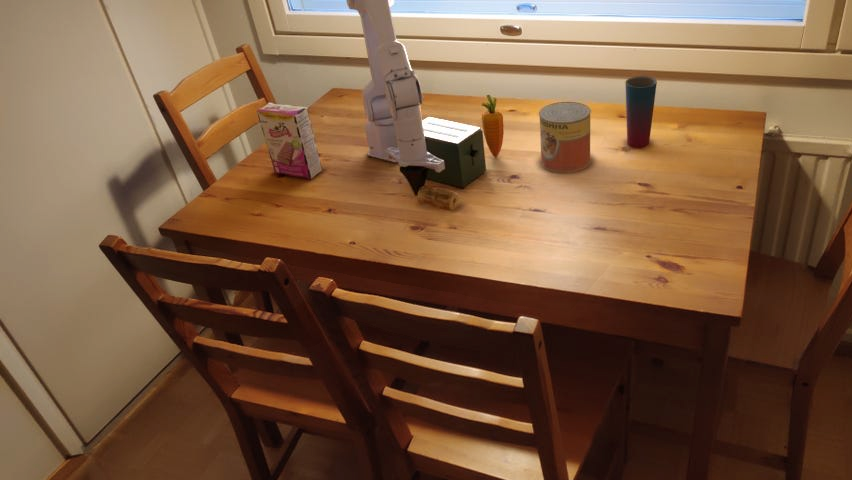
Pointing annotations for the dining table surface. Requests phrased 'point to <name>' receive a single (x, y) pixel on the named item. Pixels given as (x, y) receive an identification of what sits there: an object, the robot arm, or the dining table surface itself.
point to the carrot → (493, 126)
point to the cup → (639, 109)
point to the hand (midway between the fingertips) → (419, 194)
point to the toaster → (455, 151)
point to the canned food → (565, 136)
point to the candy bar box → (290, 140)
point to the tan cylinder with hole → (438, 197)
